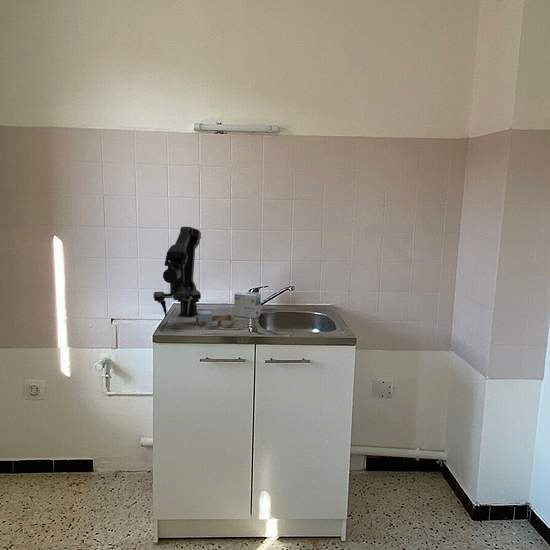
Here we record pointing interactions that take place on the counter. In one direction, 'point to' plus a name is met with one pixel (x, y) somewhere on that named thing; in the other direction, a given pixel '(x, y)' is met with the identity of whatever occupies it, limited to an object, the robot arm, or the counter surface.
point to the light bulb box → (247, 304)
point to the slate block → (205, 317)
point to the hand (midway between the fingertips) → (177, 315)
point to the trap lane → (220, 317)
